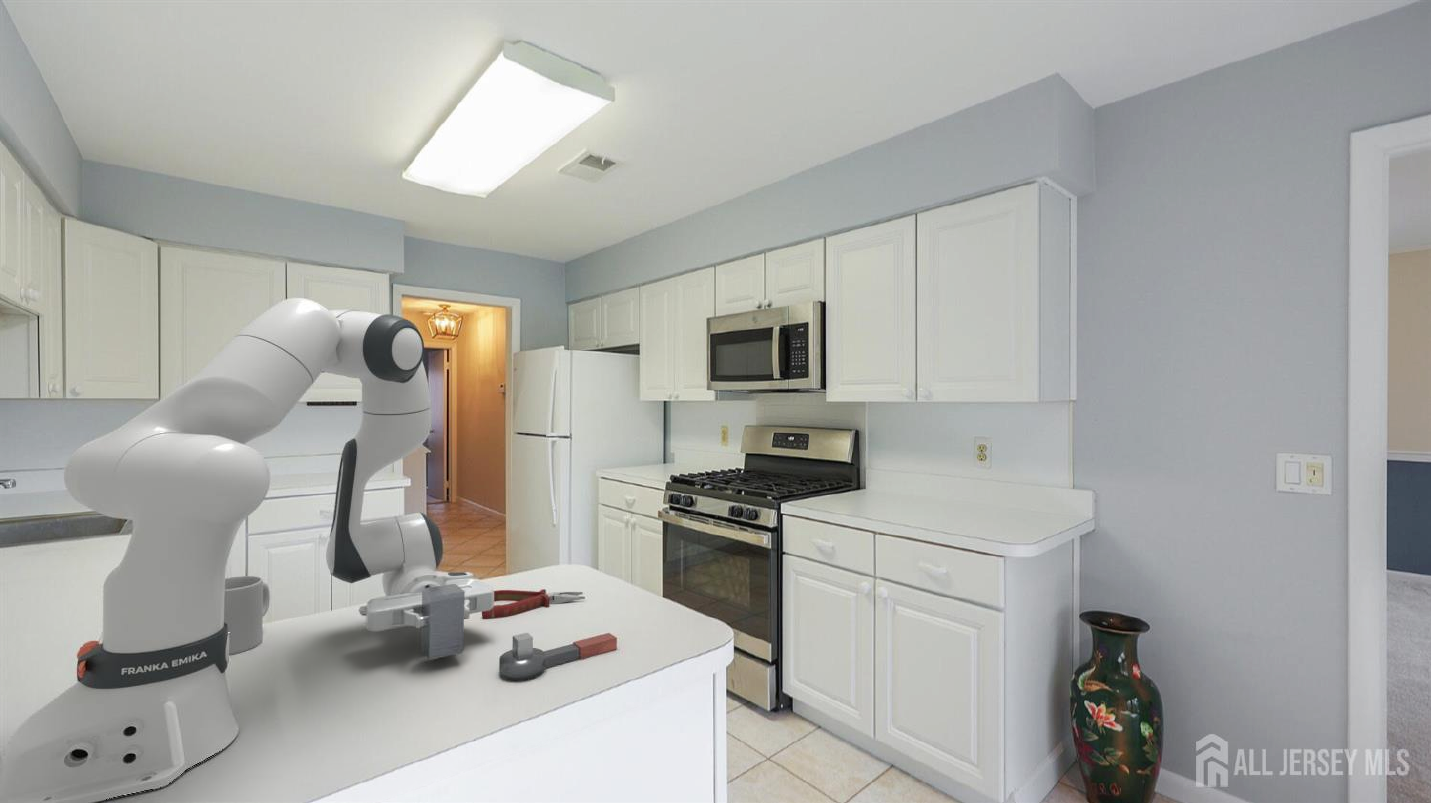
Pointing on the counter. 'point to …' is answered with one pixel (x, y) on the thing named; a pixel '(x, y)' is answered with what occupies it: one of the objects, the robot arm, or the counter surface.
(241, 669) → the counter surface
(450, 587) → the grey square pillar
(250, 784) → the counter surface
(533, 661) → the ratchet
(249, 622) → the mug
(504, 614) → the pliers
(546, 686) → the counter surface
